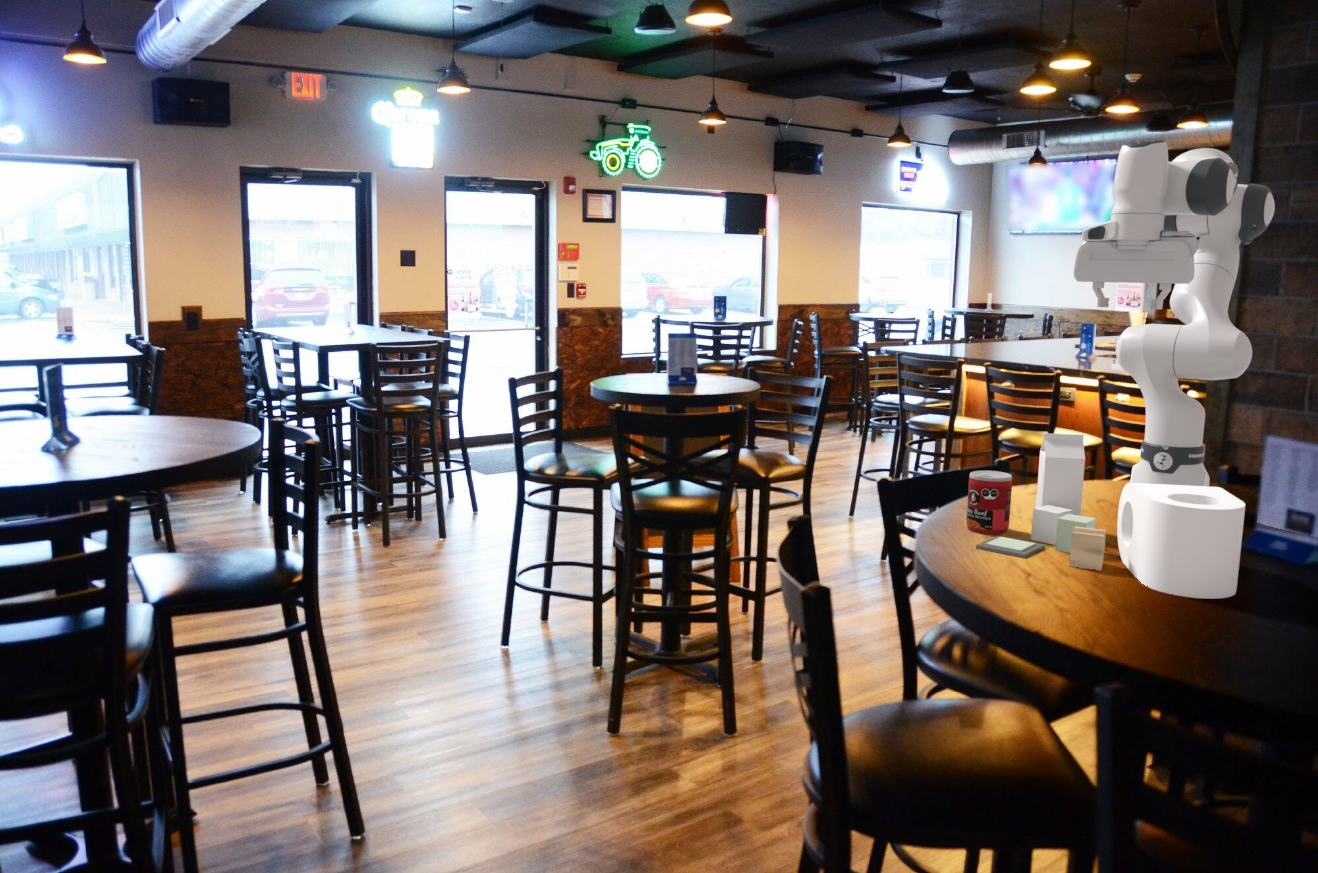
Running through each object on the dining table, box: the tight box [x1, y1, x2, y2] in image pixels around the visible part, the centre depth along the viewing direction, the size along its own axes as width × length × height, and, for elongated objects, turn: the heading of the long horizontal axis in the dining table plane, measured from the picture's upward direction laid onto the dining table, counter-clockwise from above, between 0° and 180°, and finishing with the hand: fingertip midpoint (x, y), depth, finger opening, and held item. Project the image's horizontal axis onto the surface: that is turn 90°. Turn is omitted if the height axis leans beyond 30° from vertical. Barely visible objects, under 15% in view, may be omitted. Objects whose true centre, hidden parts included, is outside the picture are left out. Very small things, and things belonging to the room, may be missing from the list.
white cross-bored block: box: [1116, 482, 1246, 600], centre depth 173 cm, size 14×14×25 cm
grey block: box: [1030, 505, 1072, 546], centre depth 195 cm, size 5×5×6 cm
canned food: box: [965, 470, 1013, 535], centre depth 202 cm, size 8×8×11 cm
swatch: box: [975, 535, 1046, 559], centre depth 190 cm, size 9×9×1 cm
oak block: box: [1068, 526, 1107, 571], centre depth 179 cm, size 5×5×6 cm
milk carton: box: [1035, 432, 1086, 516], centre depth 202 cm, size 7×7×19 cm
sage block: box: [1055, 514, 1097, 554], centre depth 189 cm, size 5×5×6 cm
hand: (1129, 308), depth 191 cm, fingers open, 8 cm apart
